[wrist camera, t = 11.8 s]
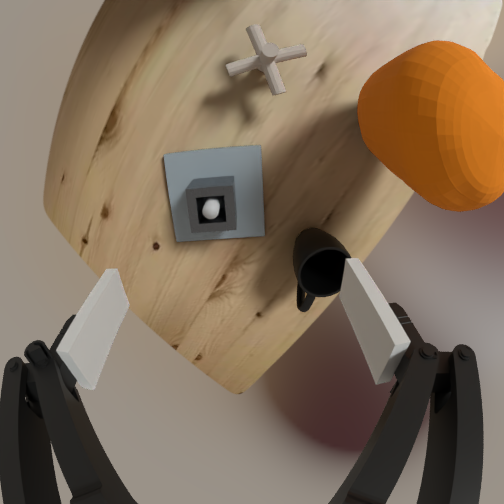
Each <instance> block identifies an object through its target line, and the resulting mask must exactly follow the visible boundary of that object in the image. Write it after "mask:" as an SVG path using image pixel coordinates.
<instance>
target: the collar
mask: <svg viewBox="0 0 504 504" xmlns="http://www.w3.org/2000/svg"><path fill="white" fill-rule="evenodd" d="M185 191H186V199H187V206H188V214H189V221H190V227H191V233H201V232H215V231H229V230H237V207H236V193H235V179H234V176H220V177H209V178H198V179H193V180H192V181H191V182H190V184H189V185H188V186H187V188H186V189H185ZM222 195H224V200H225V208H219V213H218V215H217V217H216V218H214V219H208V218H206V217H205V216H204V215H203V207H204V200H203V197H209V196H222Z"/></svg>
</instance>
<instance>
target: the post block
mask: <svg viewBox="0 0 504 504" xmlns="http://www.w3.org/2000/svg"><path fill="white" fill-rule="evenodd" d="M164 162H165V170H166V178H167V185H168V192H169V198H170V205H171V211H172V217H173V223H174V229H175V235H176V240H177V242H183V241H196V240H211V239H225V238H241V237H256V236H265V229H264V203H263V179H262V157H261V145H250V146H235V147H222V148H211V149H201V150H192V151H183V152H176V153H168V154H164ZM220 176H234V179H235V193H236V207H237V230H229V231H215V232H201V233H191V227H190V221H189V214H188V206H187V199H186V191H185V189H186V188H187V186H188V185H189V184H190V182H191V181H192V180H193V179H198V178H209V177H220ZM203 200H204V207H203V215H204V216H205V217H206V218H208V219H214V218H216V217H217V215H218V213H219V208H225V200H224V195H222V196H209V197H203Z"/></svg>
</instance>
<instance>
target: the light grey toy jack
mask: <svg viewBox="0 0 504 504" xmlns="http://www.w3.org/2000/svg"><path fill="white" fill-rule="evenodd" d="M246 31H247V33H248V35H249V38H250V40H251V42H252V45H253V47H254V50H255V52H256V54H257V55H255V56H251V57H248V58H245V59H241V60H238V61H235V62H232V63H229V64H226V68H227V70H228V73H229V75H230V77H231V76H234V75H237V74H241V73H244V72H247V71H250V70H253V69H257V68H258V70H260V71H262V72H264V74H265V77H266V80H267V82H268V85H269V87H270V90H271V93H272V96H273V95H277V94H281V93H284V92H286V89H285V87H284V84H283V81H282V79H281V76H280V73H279V71H278V68H277V66H276V63H279V62H283V61H287V60H291V59H296V58H300V57H305V56H307V52H306V49H305V47H304V45H303V44H300V45H295V46H291V47H286V48H282V49H279V48H278V46H277V45H276V44H274V43H267V41H266V39H265V36H264V34H263V32H262V30H261V27H260V25H259V24H255V25H251V26H249V27H247V28H246Z"/></svg>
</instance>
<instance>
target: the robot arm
mask: <svg viewBox="0 0 504 504" xmlns="http://www.w3.org/2000/svg"><path fill="white" fill-rule="evenodd" d="M339 297H340V300H341V302H342V305H343V307H344V309H345V311H346V313H347V316H348V318H349V320H350V322H351V325H352V327H353V329H354V332H355V334H356V337H357V339H358V341H359V343H360V346H361V348H362V351H363V353H364V356H365V358H366V361H367V363H368V366H369V368H370V371H371V373H372V376H373V378H374V381H375V384H381V383H385V382H389V381H391V379H392V377H393V375H394V374H395V376H396V378H397V381H396V383H395V385H394V386H393V388H392V390H391V391H390V393H391V395H390V397H389V399H388V402H387V404H386V406H385V408H384V411H383V413H382V415H381V417H380V419H379V421H378V423H377V425H376V427H375V429H374V431H373V433H372V435H371V437H370V439H369V440H368V442H367V444H366V446H365V448H364V450H363V451H362V453H361V455H360V456H359V458H358V460H357V462H356V463H355V465H354V467H353V468H352V470H351V471H350V473H349V475H348V476H347V478H346V479H345V481H344V482H343V484H342V485H341V487H340V488H339V490H338V491H337V493H336V494H335V496H334V497H333V498H332V500H331V501H330V502H329V503H328V504H386V502H387V499H388V498H389V496H390V494H391V492H392V490H393V489H394V487H395V485H396V483H397V481H398V479H399V477H400V475H401V473H402V470H403V468H404V466H405V464H406V462H407V459H408V457H409V455H410V452H411V450H412V448H413V445H414V443H415V440H416V437H417V435H418V432H419V429H420V427H421V424H422V421H423V418H424V415H425V412H426V409H427V405H428V402H429V399H430V419H429V432H428V442H427V451H426V458H425V466H424V471H423V477H422V483H421V487H420V492H419V496H418V501H417V504H479V497H480V489H481V481H482V468H483V412H482V399H481V389H480V381H479V374H478V368H477V362H476V356H475V353H474V351H473V350H472V349H471V348H470V347H468V346H467V345H463V344H460V345H457V346H456V347H455V348H454V350H453V351H452V352H440V351H438V349H437V348H436V347H435V346H433V345H431V344H430V343H424V341H423V339H422V338H421V336H420V334H419V333H418V331H417V330H416V328H415V327H414V325H413V323H411V320H410V318H409V317H408V316H407V314H406V312H405V311H404V309H403V308H402V307H401V306H399V305H398V304H397V303H389V304H388V303H387V301H386V300H385V298H384V296H383V295H382V293H381V292H380V290H379V289H378V287H377V286H376V284H375V282H374V281H373V279H372V278H371V276H370V275H369V273H368V272H367V270H366V269H365V267H364V266H363V264H362V263H361V261H360V260H359V259H358V258H348V259H346V261H345V267H344V273H343V279H342V285H341V291H340V296H339ZM129 306H130V305H129V302H128V299H127V297H126V294H125V291H124V288H123V285H122V282H121V278H120V275H119V272H118V269H106V271H105V272H104V273H103V275H102V276H101V278H100V279H99V281H98V282H97V284H96V285H95V287H94V288H93V290H92V291H91V293H90V294H89V296H88V298H87V299H86V301H85V302H84V304H83V306H82V307H81V309H80V310H79V312H78V313H77V315H72V316H71V317H70V318H69V319H68V320H67V321H66V323H65V324H64V326H63V329H61V331H60V334H59V335H58V336H57V338H56V339H55V341H54V343H53V345H52V346H51V348H50V350H49V349H48V348H47V346H46V345H45V343H44V342H43V341H40V340H37V341H33V342H32V343H30V344H29V345H28V346H27V347H26V349H25V352H24V356H25V357H26V358H27V360H28V361H29V362H30V363H24V362H23V361H22V359H21V358H19V357H14V358H11V359H10V360H9V361H8V362H7V364H6V366H5V369H4V375H3V382H2V390H1V398H0V481H1V490H2V497H3V503H4V504H61V500H60V496H59V491H58V487H57V482H56V477H55V471H54V465H53V458H52V450H51V443H52V446H53V449H54V452H55V455H56V458H57V460H58V463H59V465H60V468H61V470H62V473H63V475H64V477H65V479H66V482H67V484H68V486H69V488H70V491H71V493H72V496H73V498H72V499H71V500H70V504H138V503H137V502H136V501H135V500H134V499H133V498H132V496H131V495H130V493H129V492H128V490H127V489H126V487H125V486H124V484H123V482H122V481H121V479H120V478H119V476H118V474H117V473H116V471H115V469H114V468H113V466H112V464H111V462H110V460H109V458H108V457H107V455H106V453H105V451H104V449H103V447H102V445H101V443H100V441H99V439H98V437H97V435H96V433H95V431H94V429H93V426H92V424H91V422H90V420H89V417H88V415H87V413H86V411H85V408H84V406H83V403H82V401H81V398H80V395H79V393H78V390H77V389H76V387H75V384H76V381H78V383H79V384H80V385H81V387H82V388H86V389H91V390H95V387H96V384H97V381H98V379H99V376H100V374H101V371H102V368H103V366H104V363H105V361H106V358H107V356H108V353H109V351H110V349H111V346H112V344H113V341H114V339H115V337H116V334H117V332H118V330H119V328H120V325H121V323H122V321H123V319H124V316H125V314H126V312H127V310H128V308H129ZM25 397H26V400H25ZM50 440H51V442H50Z"/></svg>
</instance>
